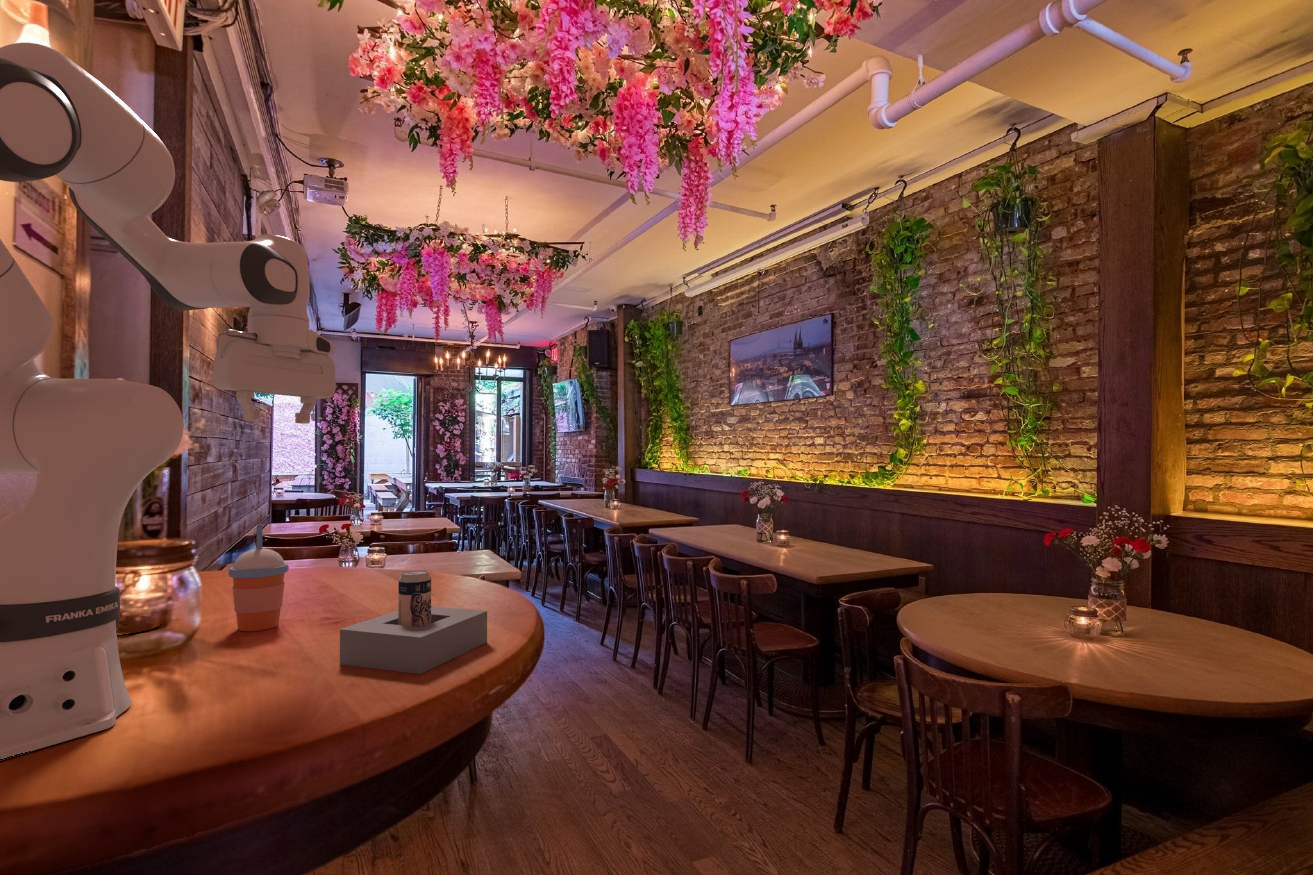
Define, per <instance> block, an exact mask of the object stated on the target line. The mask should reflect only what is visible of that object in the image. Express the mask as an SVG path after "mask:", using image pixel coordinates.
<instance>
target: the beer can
mask: <svg viewBox="0 0 1313 875" xmlns="http://www.w3.org/2000/svg"><path fill="white" fill-rule="evenodd" d="M397 580H398V602H397V603H398V604H397V605H398V607H397V608H398V609H397V611H398V625H403V626H414V627H423V626H426V625H428V624H431V606H432V577H431V575H430V572H429V571H428V570H423V569H422V570H421V569H419V570H409V571H407V570H406V571H404V572H401V574H400V576H399V578H398V579H397Z"/></svg>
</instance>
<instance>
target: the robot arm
mask: <svg viewBox="0 0 1313 875" xmlns="http://www.w3.org/2000/svg"><path fill="white" fill-rule="evenodd" d="M166 146H167V145H165V144H164V142H163V141H162V140H161V139H160V137H159V136H158V135H157V134H156V133H155V132H154V130H152V128H150V127H149V126H148V124H146V123H145V122H144V121H143V120H142V119H141V118H140V117H139V116H138V115H137V114H136V113H135V111H133V110H132V109H131V107H129V106H128V105H127V104H126V103H125V102H124V101H123V100H122V99H121V98H119V97H118V96H117V95H116V94H115V93H114V92H112V91H111V89H109V88H108V87H106V86H105V85H104V84H103V83H102V82H101V81H99V79H97V78H96V77H94V76H93V75H92V74H90V73H89V72H88V71H86V70H85V69H84V68H82V67H81V66H79V65H78V64H77V63H75V62H74V61H73V60H72V59H70V58H68V57H67V56H66V55H65V54H63V53H61V52H60V51H58V50H56V49H53V48H51V47H49V46H46V45H43V44H40V43H33V42H16V43H11V44H10V43H9V44H7V45H4V46H1V47H0V181H1V182H2V181H3V182H7V183H8V182H10V183H22V182H23V183H24V182H34V181H41V180H44V179H48V178H50V177H53V176H55V177H57V178H58V179H59V180H61V181H62V182H63V183H64V184H65V185H67V186H68V194H69V197H70V200H71V202H72V204H73V206H74V207H75V209H76V210H77V212H78V213H79V214H80V216H82V218H84V220H86V222H88V223H89V225H90V226H91V227H92V228H93V229H94V230H95V231H96V232H98V234H100V236H102V237H103V238H104V239H105V240H106V241H107V242H108V243H109V244H110V245H111V246H112V247H113V248H115V250H116V251H118V253H120V254H121V255H122V256H123V257H124V258H125V259H126V260H127V261H129V263H131V265H133V267H135V268H136V269H137V270H138V271H139V273H140V274H142V276H143V277H144V278H145V280H146V281H147V283H148V284H149V285H150V287H151V288H152V291H154V293H155V294H156V295H157V296H158V297H159V298H160V299H161V300H162V301H163V302H164V303H166V305H168V306H170V307H171V308H173V309H176V310H178V311H183V312H184V311H185V312H186V311H187V312H188V311H197V310H206V309H207V310H208V309H218V308H219V309H221V308H223V309H224V308H226V309H227V308H231V309H232V308H249V310H248V313H247V331H239V330H236V329H231V328H229V329H226V330H225V331H222V332H220V333H219V334H218V335H217V337H216V343H215V344H216V345H215V346H216V347H215V348H216V352H215V356H214V360H213V367H212V378H211V380H212V381H211V382H212V383H213V385H214V387H215V388H216V389H217V390H225V391H235V393H236V394H235V398H236V400H237V402H238V404H239V405H240V407H241V409H242V411H243V412H242V413H243V414H242V416H243V418H242V419H243V420H244V421H245V422H258V421H260V419H261V417H260V414H261V410H260V409H256V407H255V405H254V402H253V401H252V400H253V399H254V398H255V393H256V394H257V393H258V394H265V395H277V396H278V395H279V396H288V397H298V398H300V400H299V401H300V402H299V403H300V404H302V405H301V408H300V411H299V412H295V413H294V417H295V419H294V421H295V423H296V424H301V425H302V424H304V425H305V424H310V422H311V413H312V411H313V410H314V409H315V406H316V405H317V399H331V398H332V397H333V396H334V395H335V394H336V385H337V383H336V380H337V378H336V377H337V376H336V366H335V361H334V360H333V359H334V358H332V357H331V355H334V354H335V344H334V343H333V342H331V341H330V340H328V339H327V338H325V337H323V336H322V335H321V334H319V333H317V331H315V330H313V329H311V328H310V318H309V315H308V308H307V307H308V304H309V300H310V295H311V294H310V291H311V290H310V269H309V265H308V264H309V263H308V258H307V254H306V251H305V249H304V247H303V246H302V245H301V244H300V243H299V242H297V241H295V240H294V239H291V238H289V237H285V236H282V235H278V234H272V233H271V234H270V233H267V234H266V233H265V234H263V233H262V234H260V235H257V236H256V237H255V238H254V239H253V240H247V241H224V242H221V241H220V242H187V241H182V240H181V241H180V240H177V239H172V238H170V237H169V236H167V235H166V234H165V233H164V232H163V231H162V230H161V228H159V226H157V224H156V223H155V222H154V221H153V220H152V219H151V218H150V217H149V215H151V214H153V213H154V212H155V211H157V210H159V208H160V207H162V205H164V203H165V202H166V201H167V200H168V198H169V196H170V194H171V193H172V190H173V188H174V185H175V180H176V169H175V162H174V159H173V156H172V155H171V152H170V151H169V149H168V148H167V147H166ZM54 328H55V324H54V318H53V316H52V314H51V313H50V310H49V309H48V308H47V307H46V305H45V303H44V302H43V300H42V298H40V296H39V294H38V293H37V291H36V290H35V288H34V286H33V285H32V284H31V282H30V281H29V279H28V278H27V276H26V275H25V273H24V272H23V270H22V268H21V267H20V265H19V264H18V263H17V261H16V259H15V258H14V256H13V255H12V253H11V252H10V251H9V249H8V248H7V246H6V245H5V244H4V242H3V241H2V239H1V238H0V474H1V475H6V474H8V475H9V474H10V475H16V474H17V475H18V474H19V475H21V474H22V475H24V474H25V475H27V474H28V475H32V474H38V477H37V478H38V479H37V482H36V486H35V488H34V490H33V492H32V494H31V495H30V497H29V499H28V500H27V501H26V503H25V504H24V505H23V506H22V507H20V509H18V510H15V511H14V512H11V513H10V514H7V515H5V516H4V517H2V518H1V519H0V759H3V760H5V759H4V758H7V757H9V756H13V757H15V756H14V755H15V754H20V753H23V754H26V753H25V752H27V753H30V752H33V751H36V750H40V749H43V748H47V747H50V746H52V745H56V744H60V743H64V742H68V741H69V740H70V741H71V740H73V739H76V738H80V737H84V736H88V735H91V734H93V733H97V732H100V731H103V730H107V729H110V728H111V727H113V726H114V725H115V724H116V721H117V717H119V716H120V715H121V714H122V713H123V712H126V711H127V709H129V707H130V706H131V704H132V700H131V697H130V694H129V692H128V689H127V686H126V683H125V679H124V675H123V670H122V666H121V661H120V654H119V647H118V646H119V644H118V636H117V633H116V631H117V630H118V626H119V621H120V598H121V593H120V592H121V589H120V588H119V587H117V585H116V579H117V578H116V572H117V557H118V556H117V555H118V554H117V553H118V541H119V534H120V533H119V532H120V527H121V526H120V525H121V522H122V521H121V520H122V519H123V515H124V512H125V510H126V507H127V506H128V504H129V501H130V500H131V498H132V496H133V494H134V492H135V491H136V489H137V488H138V486H140V485H141V483H142V482H143V481H144V479H146V478H147V477H148V475H149V474H151V473H152V472H153V471H154V470H155V469H157V468H159V467H160V466H161V465H163V464H164V463H166V462H167V461H168V460H169V459H171V457H172V456H173V455H174V454H175V453H176V451H177V450H178V448H179V446H180V444H181V442H182V439H183V435H184V429H185V428H184V417H183V415H182V411H181V409H180V407H179V405H178V404H177V402H176V400H175V399H174V398H173V397H172V395H171V394H169V393H168V392H167V391H165V390H164V389H162V388H161V387H159V386H155V385H151V384H146V383H142V382H141V383H140V382H136V381H132V380H123V379H120V378H119V379H118V378H57V377H51V376H49V375H48V374H45V373H44V372H43V371H42V370H40V369H39V367H38V366H37V364H36V363H35V360H34V359H35V358H37V357H38V356H39V355H41V354H42V353H43V352H44V351H45V349H46V348H48V346H49V344H50V342H51V340H52V337H53V333H54ZM29 751H30V752H29ZM20 755H21V754H20ZM7 759H8V758H7Z"/></svg>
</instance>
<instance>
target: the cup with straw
mask: <svg viewBox="0 0 1313 875" xmlns="http://www.w3.org/2000/svg"><path fill="white" fill-rule="evenodd" d="M255 546H256V548H254V549H250V550H247V551H245V552H243V553H242V554H241V555H239V556H238V557H237V558H236V560H235V562H234V563H233V566H232V567H230V568H229V570H228V573H227V574H228V576H229V577H231V578H232V581H233V586H231V587H232V596H233V607H234V612H235V614H236V624H237V630H238V631H240V632H258V631H259V632H260V631H266V630H270V629H273V628H276V627H278V626H279V624H280V615H281V610H282V609H281V608H282V607H283V602H284V600H283V598H284V591H285V584H286V583H285V574H286V573H287V572H289V564H288V563H287V562H285V560H284V558H283V557H282V555H281V554H279V552H277V551H275V550H273V549H271V548H263V524H261V523H258V524H256V545H255Z"/></svg>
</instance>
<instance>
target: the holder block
mask: <svg viewBox="0 0 1313 875" xmlns="http://www.w3.org/2000/svg"><path fill="white" fill-rule="evenodd" d="M486 642H487V643H488V610H479V609H469V608H467V609H466V608H456V607H455V608H454V607H444V606H432V605H431V624H428V625H426V626H423V627H414V626H403V625H398V610H395V611H391V612H390V613H389V612H388V613H387V614H384V615H381V616H376V617H374V618H371V619H367V620H364V621H361V622H358V623H355V624H352V625H349V626H346V627H343V628H340V629H339V665H341V666H342V665H344V666H351V667H358V668H367V669H375V670H382V671H390V672H399V673H407V674H413V675H414V674H415V675H421V674H424V673H426V672H428V671H430V670H433V669H435V668H437V667H439V666H441V665H443V664H446V663H448V662H449V661H451V660H453V658H454V659H455V658H457V657H460V656H462V655H464V654H466V653H468V652H470V651H472V650H475V649H476V648H475V647H477V648H479V647H481V646H482V644H483V645H485V644H487V643H486ZM484 643H485V644H484ZM480 645H481V646H480ZM478 646H479V647H478ZM474 648H475V649H474ZM471 649H472V650H471Z"/></svg>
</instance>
